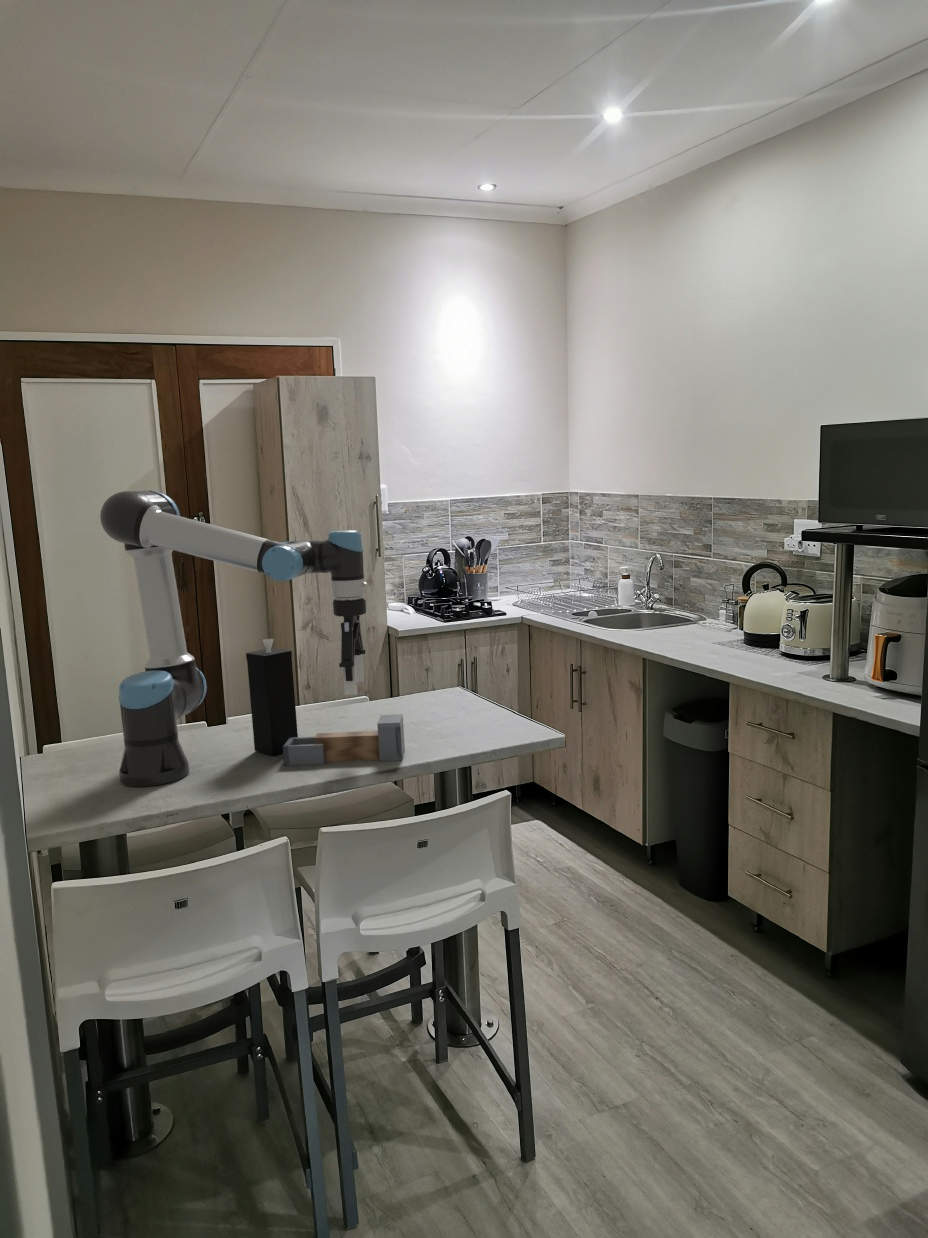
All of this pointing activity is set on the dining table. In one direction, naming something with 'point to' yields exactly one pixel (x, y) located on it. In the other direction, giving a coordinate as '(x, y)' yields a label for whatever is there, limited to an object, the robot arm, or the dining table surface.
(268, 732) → the black tall block
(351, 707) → the dining table surface
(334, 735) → the brown wooden block
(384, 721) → the end cap
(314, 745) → the end cap
